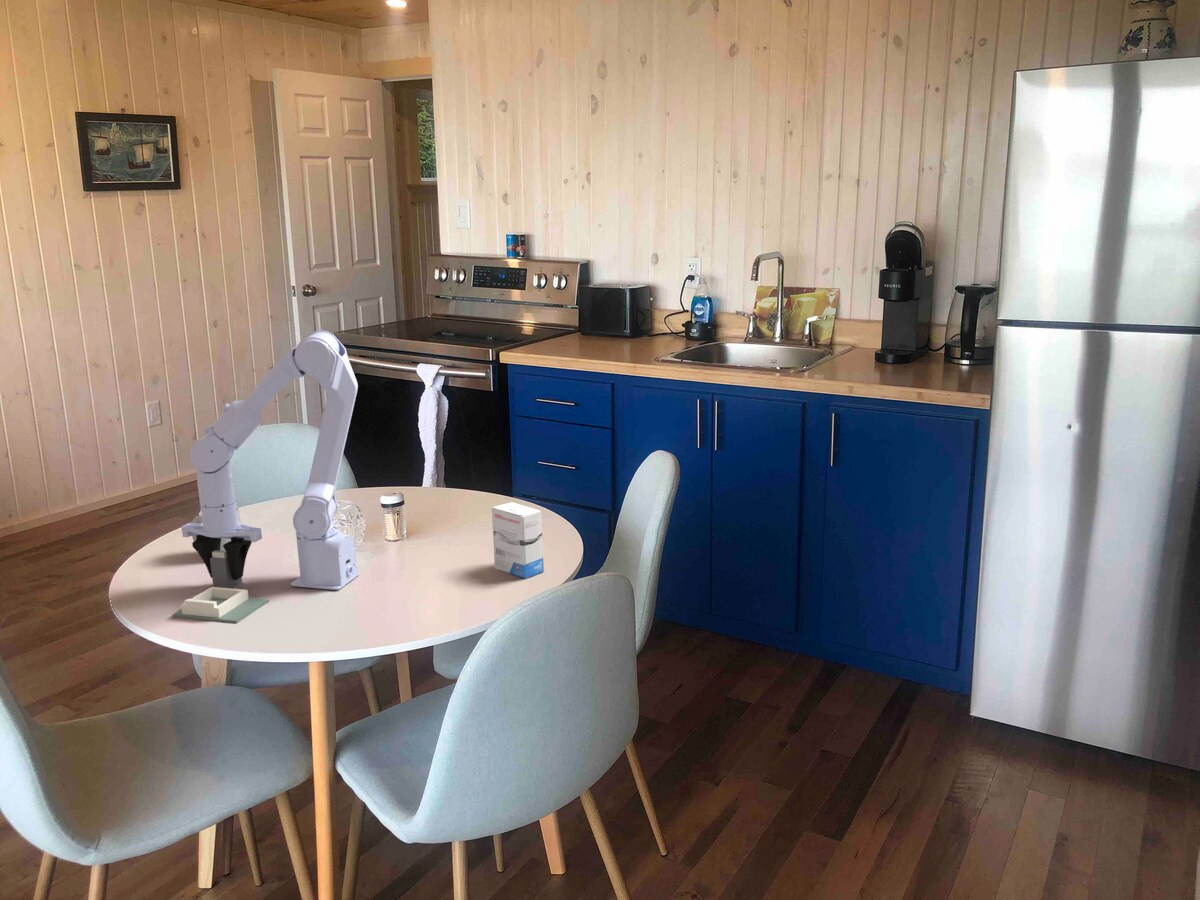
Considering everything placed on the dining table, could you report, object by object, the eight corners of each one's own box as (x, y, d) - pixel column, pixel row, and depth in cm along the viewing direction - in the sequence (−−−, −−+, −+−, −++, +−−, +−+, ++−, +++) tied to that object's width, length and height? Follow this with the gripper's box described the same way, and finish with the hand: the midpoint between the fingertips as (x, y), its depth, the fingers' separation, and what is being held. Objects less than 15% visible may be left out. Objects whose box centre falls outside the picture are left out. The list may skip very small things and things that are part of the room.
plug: (242, 583, 173) (238, 546, 171) (228, 591, 169) (224, 553, 167) (227, 582, 173) (223, 545, 172) (213, 590, 170) (209, 552, 168)
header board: (268, 601, 164) (267, 585, 163) (236, 623, 156) (234, 606, 155) (207, 595, 167) (205, 580, 166) (172, 616, 159) (170, 600, 158)
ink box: (545, 571, 175) (543, 509, 172) (525, 579, 172) (522, 516, 169) (513, 561, 181) (511, 500, 178) (493, 568, 177) (490, 506, 174)
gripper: (268, 498, 169) (276, 571, 173) (196, 494, 173) (205, 566, 176) (244, 510, 163) (253, 586, 166) (170, 505, 166) (180, 580, 169)
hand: (227, 577), depth 171 cm, fingers open, 4 cm apart
